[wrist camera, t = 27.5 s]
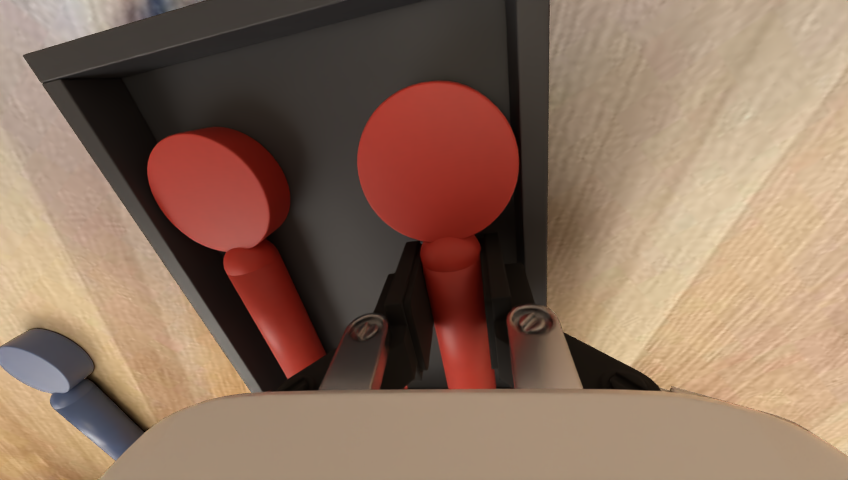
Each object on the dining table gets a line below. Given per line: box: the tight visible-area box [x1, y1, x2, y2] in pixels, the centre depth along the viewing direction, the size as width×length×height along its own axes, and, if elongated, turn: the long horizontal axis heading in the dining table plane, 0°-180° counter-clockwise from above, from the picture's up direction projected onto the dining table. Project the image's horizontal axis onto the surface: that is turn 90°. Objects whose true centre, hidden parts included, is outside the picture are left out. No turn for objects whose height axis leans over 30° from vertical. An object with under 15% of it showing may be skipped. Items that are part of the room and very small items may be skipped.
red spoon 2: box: [357, 81, 519, 389], centre depth 11 cm, size 14×5×2 cm, turn 10°
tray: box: [23, 0, 550, 393], centre depth 13 cm, size 20×16×3 cm
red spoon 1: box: [147, 127, 326, 379], centre depth 14 cm, size 14×5×2 cm, turn 10°
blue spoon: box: [0, 329, 144, 461], centre depth 23 cm, size 14×5×2 cm, turn 10°
